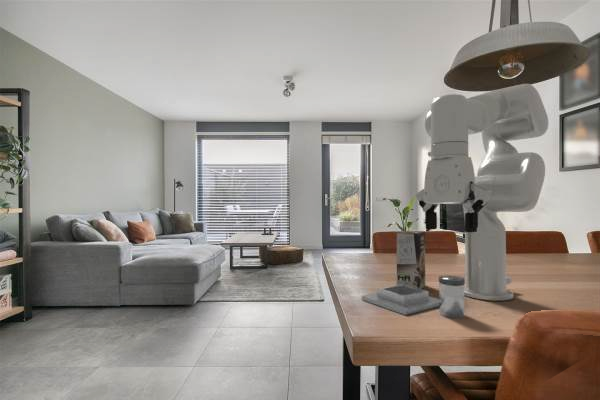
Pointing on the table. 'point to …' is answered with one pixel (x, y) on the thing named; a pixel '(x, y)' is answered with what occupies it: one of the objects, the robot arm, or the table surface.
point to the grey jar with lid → (451, 296)
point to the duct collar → (402, 299)
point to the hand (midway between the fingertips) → (450, 230)
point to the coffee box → (411, 259)
